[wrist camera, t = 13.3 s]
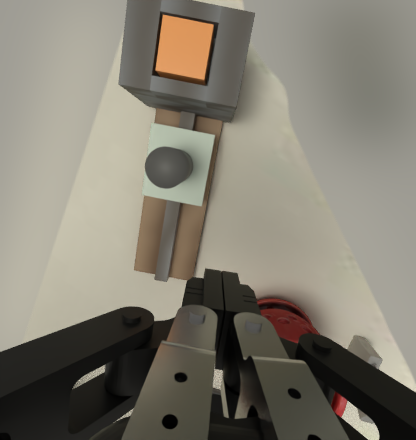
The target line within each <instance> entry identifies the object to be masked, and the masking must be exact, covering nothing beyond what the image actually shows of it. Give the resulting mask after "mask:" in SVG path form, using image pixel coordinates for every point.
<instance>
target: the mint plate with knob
mask: <svg viewBox="0 0 416 440" xmlns="http://www.w3.org/2000/svg"><path fill="white" fill-rule="evenodd" d="M214 139H215V135H212V134H207V133H202V132H197V131H192V130H186V129H181V128H176V127H171V126H166V125H161V124H156V123H151V130H150V137H149V144H148V152H147V159H146V162H145V174H144V181H143V188H142V195H145V196H150V197H155V198H160V199H165V200H171V201H176V202H181V203H186V204H191V205H196V206H202V203H203V198H204V193H205V187H206V182H207V177H208V171H209V166H210V161H211V155H212V150H213V145H214Z"/></svg>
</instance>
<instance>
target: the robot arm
mask: <svg viewBox="0 0 416 440" xmlns="http://www.w3.org/2000/svg"><path fill="white" fill-rule="evenodd" d="M105 364H106V365H105ZM103 365H105V372H104V373H102V374H100V375H99V376H97V377H95V378H93V379H91V380H90V381H88V382H86V383H84V384H82V385H80V386H79V387H77V388H75V389H73V390H72V388H73V386H74V385H75V383H76V382H77V381H78V380H79V379H80V378H81V377H83V376H84V375H86V374H88V373H90V372H92V371H94V370H95V369H97V368H99V367H101V366H103ZM214 366H215V369H219V370H223V377H222V383H221V397H222V405H223V413H224V416H222V415H219V414H216V413H214V412H211V411H210V410H211V399H212V388H213V377H214ZM335 391H336V392H337V393H338V394H340V395H341V396H342V397H344V398H345V399H346V400H347V401H349V402H350V403H351V404H353V405H354V406H355V407H357V408H358V409H359V410H360V411H362V412H363V413H364V414H366V415H367V416H368V417H369V418H371V420H372V421H373V422H374V423H375V425H376V426H377V428H378V431H379V435H380V438H379V440H416V392H414V391H412V390H411V389H409V388H408V387H406V386H404V385H403V384H401V383H400V382H398V381H396V380H395V379H393V378H392V377H390V376H388V375H387V374H385V373H384V372H382V371H380V370H379V369H377V368H375V367H374V366H372V365H371V364H369V363H367V362H366V361H364V360H363V359H361V358H359V357H358V356H356V355H355V354H353V353H351V352H350V351H348V350H347V349H345V348H343V347H342V346H340V345H339V344H337V343H335V342H334V341H332V340H330V339H329V338H327V337H324V336H322V335H318V334H314V333H305V334H302V335H301V336H300V337H299V341H298V343H295V342H292V341H289V340H287V339H284V338H281V337H279V336H278V334H277V332H276V330H275V328H274V326H273V325H272V323H271V322H270V321H269V320H268V319H266V318H264V317H263V316H262V315H261V312H260V308H259V305H258V304H257V299H256V296H255V293H254V291H253V290H252V289H251V288H250V287H249V286H248V285H243V284H240V282H239V278H238V274H237V273H233V272H226V271H222V272H221V271H219V270H213V269H206V268H205V272H204V279H203V278H196V277H192V278H191V279H189V280H188V281H187V283H186V288H185V293H184V298H183V302H182V307H181V308H180V309H179V310H178V312H177V314H176V317H174V318H172V319H169V320H165V321H154V316H153V314H152V313H151V312H150V311H148V310H146V309H144V308H141V307H123V308H120V309H117V310H114V311H111V312H109V313H106V314H103V315H100V316H98V317H95V318H92V319H89V320H87V321H84V322H81V323H78V324H76V325H73V326H70V327H68V328H65V329H62V330H59V331H57V332H54V333H51V334H48V335H46V336H43V337H40V338H37V339H35V340H32V341H29V342H26V343H24V344H21V345H18V346H16V347H13V348H10V349H8V350H5V351H2V352H0V440H368V439H366V438H365V437H364V436H363V435H362V434H360V433H359V432H358V431H357V430H356V429H354V428H353V427H352V426H351V425H350V424H348V423H347V422H346V421H345V420H343V419H342V418H341V417H340V416H339V415H337V414H336V413H335V412H334V411H333V410H332V408H331V404H332V400H333V397H334V394H335ZM133 408H134V410H133V412H132V414H131V416H129V417H126V418H123V419H121V420H119V421H116V420H118V419H119V418H120V417H122V416H123V415H125V414H126V413H127V412H129V411H130V410H131V409H133ZM115 421H116V422H115ZM113 422H114V423H113Z"/></svg>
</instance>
